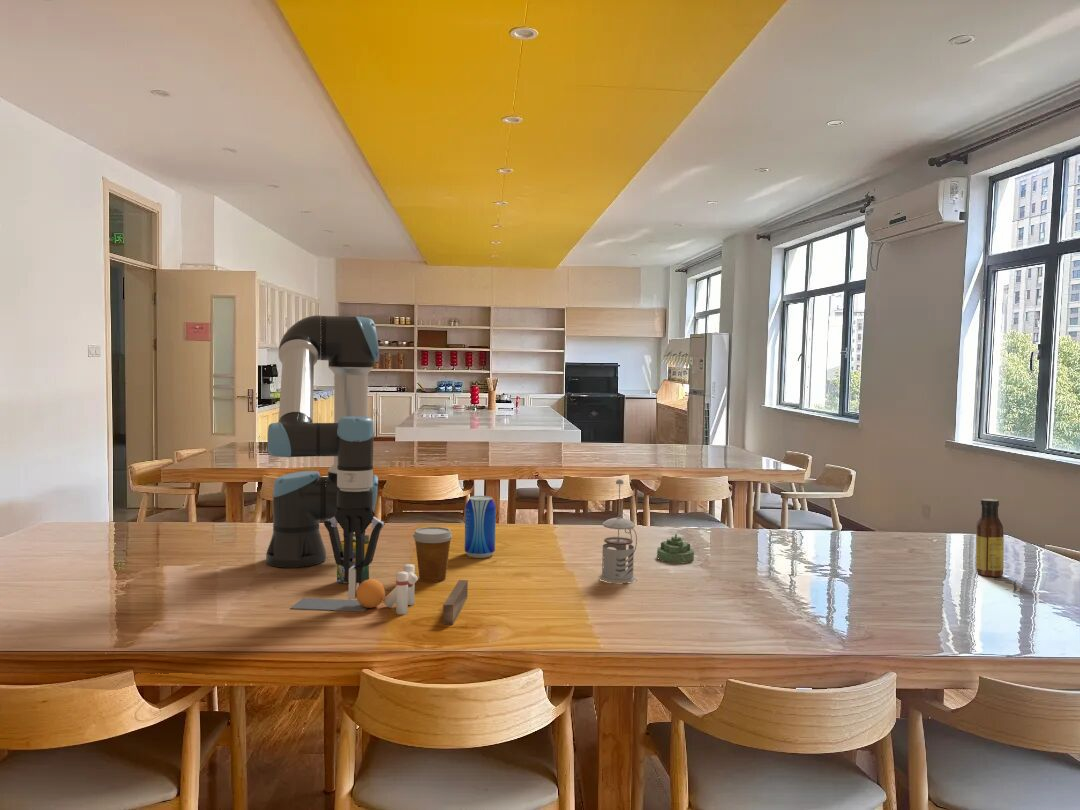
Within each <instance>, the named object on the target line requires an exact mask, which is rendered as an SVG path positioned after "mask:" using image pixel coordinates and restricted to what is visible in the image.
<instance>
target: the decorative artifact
mask: <svg viewBox="0 0 1080 810" xmlns="http://www.w3.org/2000/svg"><path fill="white" fill-rule="evenodd" d="M694 555H695V550H694V549H692V548H691V543H689V542H686V541H683V538H682V537H680V536H678V534H677V533H675V534H674V536H671V539H670V538H667V539H666V540H664V541H661V542H660V546H659V547H657V550H656V558H657V559H658V558H659V559H661V560H663V561H662V562H664V561H667V562H666V563H670V562H675V563H674V564H686V563H685V562H688V563H691V561H692V562H693V561H694V559H695V556H694ZM659 559H658V560H659ZM661 560H660V561H661ZM682 562H684V563H682Z"/></svg>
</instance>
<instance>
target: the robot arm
mask: <svg viewBox="0 0 1080 810" xmlns="http://www.w3.org/2000/svg"><path fill="white" fill-rule="evenodd" d="M378 339H379V338H378V334H377V327H376V324H375V322H374V320H373V319H371V318H369V317H362V316H358V315H357V316H356V315H355V316H346V315H345V316H344V315H343V316H340V315H339V316H336V315H310V316H307V317H305V318H301V319H300V320H298V321H297V322H295V323H294V324H293V325H291V326H290V327H289V328H288V330H286V332H285V333H284V335H283V336H282V338H281V340H280V343H279V345H278V359H279V361H280V363H281V376H280V394H279V405H278V406H279V407H278V408H279V410H278V422H277V421H276V422H271V423H270V424H269V425H268V426H267V452H268V454H269V455H270V456H272V457H274V458H275V457H277V458H300V457H302V458H306V457H308V458H309V457H333V464H332V465H331V466H330V467H329V468H328V470H327V475H326V476H321V473H320V472H319V471H318V470H304V471H297V472H290V473H288V474H287V473H286V474H284V475H281V476H278V477H277V478H276V479H274V481H273V489H272V491H273V493H272V495H271V496H272V498H273V499H272V500H273V502H272V503H273V504H272V505H273V506H272V507H273V509H272V511H273V514H272V515H273V516H272V523H273V524H272V527H273V528H272V535H271V539H270V542H269V544H268V547H267V551H266V554H265V563H266V564H267V565H269V566H272V567H274V568H275V567H276V568H285V569H287V568H290V567H293V568H304V566H305V567H310V565H311V566H315V565H314V564H316V565H318V563H319V564H321V563H320V562H322V563H323V561H324V560H325V559H326V560H327V551H326V550H327V549H326V548H325V547H326V546H325V544H324V541H323V538H322V536H321V535H322V534H321V532H320V531H321V530H320V522H321V521H324V522H323V525H324V527H325V528H326V530H327V531H328V536H329V539H330V544H331V548H332V552H333V557H334V561H335V562H334V563H335V564H336V566H337V565H341V566H343V567H344V581H345V582H348V583H349V584H348V592H347V593H348V595H347V596H348V599H347V600H357V597H356V591H357V588H358V586H359V583H361V582H362V581H363V568H364V567H365V566H368V565H369V566H370V565H371V564H372V562H373V561H374V558H375V557H374V555H375V552H376V549H377V544H378V541H379V536H380V534H381V533H380V532H382V531H381V530H382V529H383V528H384V526H386V525H385V524H386V522H385V521H384V520H380V519H378V518H377V517H376V514H375V512H374V511H375V509H376V503H377V499H378V497H377V496H378V487H379V476H378V475H375V474H374V464H373V463H374V436H375V429H374V420H373V419H372V418H371V417H368V382H369V380H368V377H369V373H370V372H371V371H372V370H373V369H374V363H377V362H379V361H380V349H379V342H378V341H379V340H378ZM318 361H327V362H328V364H327V365H328V369H329V370H330V371H331V372H332V373H333V375H334V377H333V378H334V379H333V383H334V386H333V387H334V388H333V389H334V390H333V391H334V392H333V393H334V394H333V399H334V400H333V401H334V403H333V404H334V405H333V406H334V407H333V408H334V409H333V410H334V412H333V413H334V415H333V422H314V389H315V388H314V386H315V385H314V384H315V383H314V380H315V375H314V374H315V365H316V364H317V362H318ZM370 524H371V529H372V531H371V533H370V535H369V544H368V548H367V552H366V556H365V560H364V545H365V535H366V530H367V529H368V527H369V526H370ZM338 525H339V526H340V527H341V529H342V530H343V534H342V535H343V541H344V554H343V549H342V545H341V536H340V533H339V528H338ZM353 534H355V540H356V555H355V566H352V564H353V563H354V562H353V539H354V537H353ZM326 560H325V561H326ZM325 561H324V562H325Z"/></svg>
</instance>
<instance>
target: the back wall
mask: <svg viewBox="0 0 1080 810" xmlns="http://www.w3.org/2000/svg"><path fill="white" fill-rule="evenodd" d="M468 588H469V586H468V579H466V580H464V579H458V581H457V582H456V584H455V586H454V587H453V589H452V590H451V592H450V593H449V595H448V596H447V598H446V600H445V601H444V603H443V606H442V607H443V608H442V611H443V612H442V624H443V625H454V623H455V622H456V620H457V618H458V616H459V614H460V613H461V610H462V609H463V607H464V605H465V603H466V601H467V600H468Z"/></svg>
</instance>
